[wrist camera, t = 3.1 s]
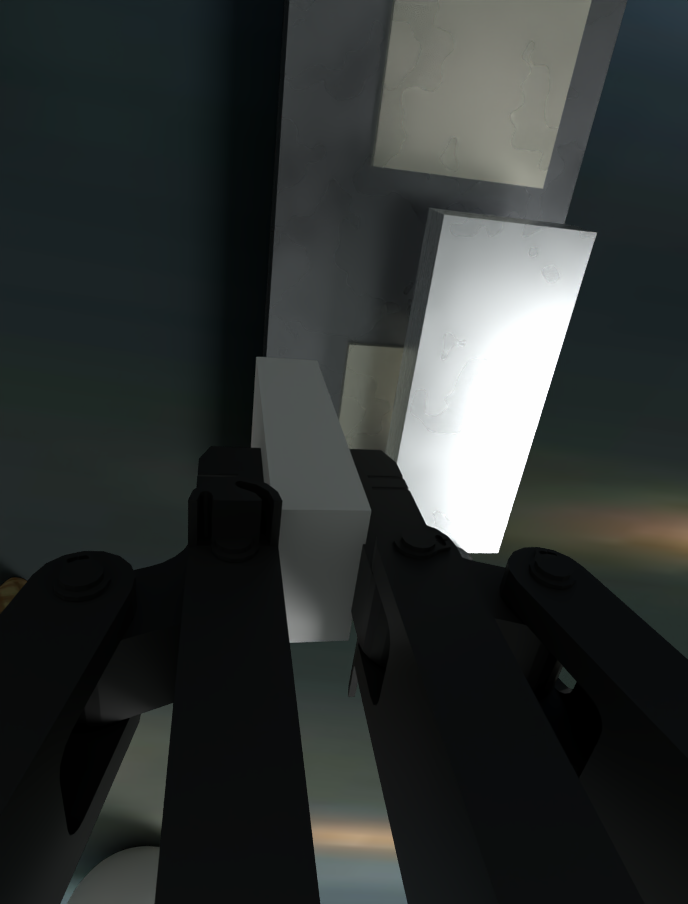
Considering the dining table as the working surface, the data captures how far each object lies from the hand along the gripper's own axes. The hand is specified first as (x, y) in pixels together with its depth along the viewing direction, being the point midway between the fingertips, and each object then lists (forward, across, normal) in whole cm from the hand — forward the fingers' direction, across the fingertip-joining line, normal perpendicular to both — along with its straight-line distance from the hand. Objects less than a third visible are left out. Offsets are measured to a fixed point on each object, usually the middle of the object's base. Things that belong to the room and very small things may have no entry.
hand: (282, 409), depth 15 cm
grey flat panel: (+8, +8, -4) cm, 12 cm away
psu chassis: (+14, +6, +1) cm, 15 cm away
